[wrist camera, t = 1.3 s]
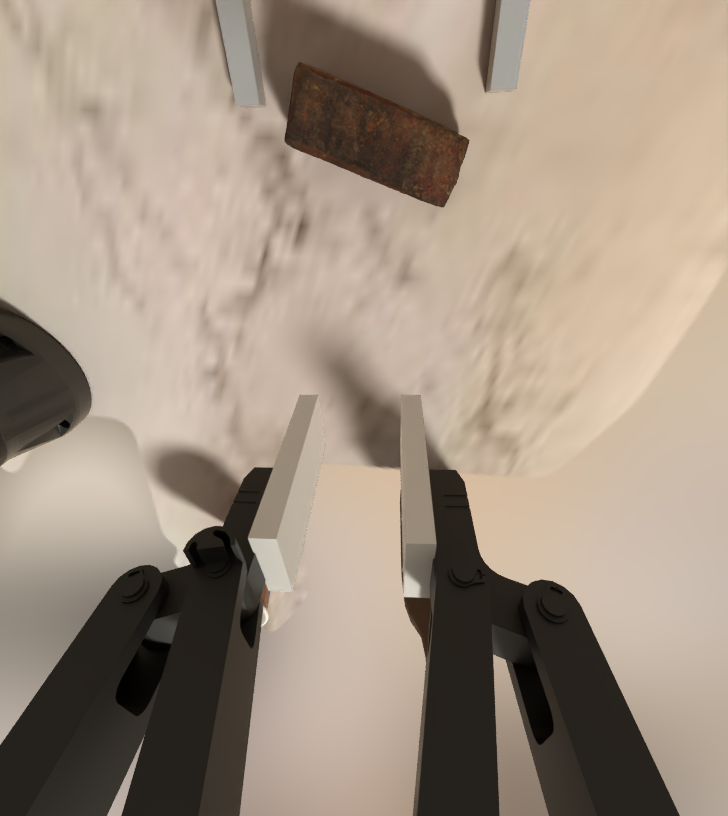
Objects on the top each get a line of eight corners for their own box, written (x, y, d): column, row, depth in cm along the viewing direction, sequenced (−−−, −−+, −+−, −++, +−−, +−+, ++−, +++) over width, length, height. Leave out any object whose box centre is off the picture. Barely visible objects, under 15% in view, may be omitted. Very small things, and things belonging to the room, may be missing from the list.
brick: (297, 144, 25) (280, 145, 21) (311, 70, 23) (295, 57, 19) (437, 202, 27) (445, 213, 23) (464, 139, 24) (477, 139, 20)
